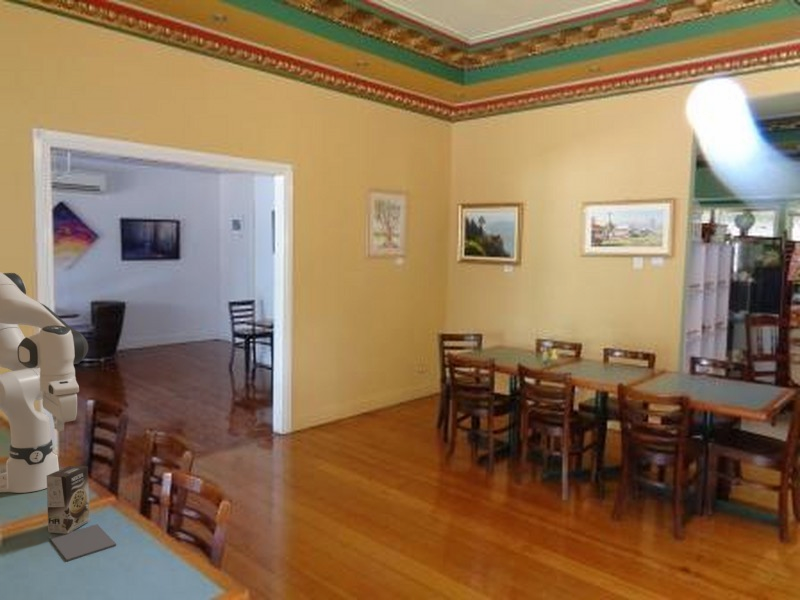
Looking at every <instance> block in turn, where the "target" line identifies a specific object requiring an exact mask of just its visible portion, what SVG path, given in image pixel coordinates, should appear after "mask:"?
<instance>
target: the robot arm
mask: <svg viewBox="0 0 800 600" xmlns="http://www.w3.org/2000/svg"><path fill="white" fill-rule="evenodd" d="M26 290H27V287H26V284H25V282H24V280H23V279H22V278H21V276H20V275H19V274H17V273H14V272H4V273H3V272H2V271H0V367H1V368H4V369H8V370H10V371H6V372H2V373H0V411H1V412H3V414H4V415H5V416H6V418H7V420H8V422H9V428H10V441H11V443H10V446H9V451H8V452H9V457H8V459H7V460H6V462H5V464H6V465H0V493H15V494H16V493H18V494H20V493H22V494H23V493H24V494H25V493H31V492H37V491H41V490H44V489H47V475H50V474H52V473H54V472H57V471H59V470H60V468H59V467H60V466H59V457H58V455H57V454H56V453H54V452H53V450H54V449H53V447H54V444H53V440H52V438H51V419H50V418H49V416H48V415H47V414H46V413H45V412H44V413H43V412H41V411H38V410H36V408H35V402H36V401H40V400H42V402H41V403H42V408H43V409H45V410H46V411H47V413H50V414H51V415H52V416H51V417H52V420H53V426H54V427H53V429H55V430H56V431H57V432H62V431H64V430H65V423H67V422H73V421H75V420H76V419H77V414H78V393H79V392H80V387H79V383H78V381H77V377H76V368H75V366H74V365H76V364H79V363H80V362H82V361H83V360H84V358H85V357H86V355H88V351H89V343H88V341H87V339H86V338H85V336H84V335H83V334H82V333H81V332H79V330H76V329H74V328H72V327H71V326H70V325H69V324H67V323H66V322H65V321H64V320H63V319H62V318H60V317H59V315H58V314H56V313H55V311H53V310H52V309H51V308H50V307H48V306H47V305H45V304H43V303H41V302H40V301H37V300H35V299H33V298H32V297H30V296H29V295H27V291H26ZM19 325H22V326H31V327H34V328H35V327H36V328H38V329H40V330H39V332H38V333H35V334H33V335H29V336H27V337H25V335H24V333H23V331H22V329H21V328H20V326H19Z"/></svg>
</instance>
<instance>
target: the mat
mask: <svg viewBox="0 0 800 600" xmlns="http://www.w3.org/2000/svg"><path fill="white" fill-rule="evenodd" d="M49 540H50V542H51V543H52V544H53V546H54V547H55V548H56V549H57V550H58V552H59V553H60V554H61V556H62V557H63V559H64V560H65V561H66V562H70V561H72V560H76V559H79V558H83V557H85V556H89V555H91V554H95V553H98V552H101V551H105V550H106V549H110V548H113V547H114V548H115V547H116V546H117V543H116V542H115V541H114V540H113V539H112V538H111V537H110V536H109V535H108V533H106V532H105V531H104V530H103V528H102V527H100V525H99V524H94V525H93V524H92V525H90V526H86V527H83V528H80V529H75V530H73V531H71V532H70V533H68V534H62V533H61V534H58V535H55V536H52V537H49Z"/></svg>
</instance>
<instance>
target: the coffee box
mask: <svg viewBox="0 0 800 600" xmlns="http://www.w3.org/2000/svg"><path fill="white" fill-rule="evenodd" d="M89 487H90V486H89V466H88V465H87V466H84V465H83V466H82V465H68V466H66V467H63V468H61V469H59V471H57V472H54V473H52V474H50V475H47V488H46V498H47V499H46V500H47V501H46V502H47V503H46V504H47V528H48V529H47V531H48V533H55V534H61V535H62V534H68V533H70V532H72V531H76V530H77V529H78V528H80V527H81V526H84V525H85V524H87V523H89V522H90V521H91V518H90V515H91V514H90V512H91V511H90V491H89V490H90V489H89Z"/></svg>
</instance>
